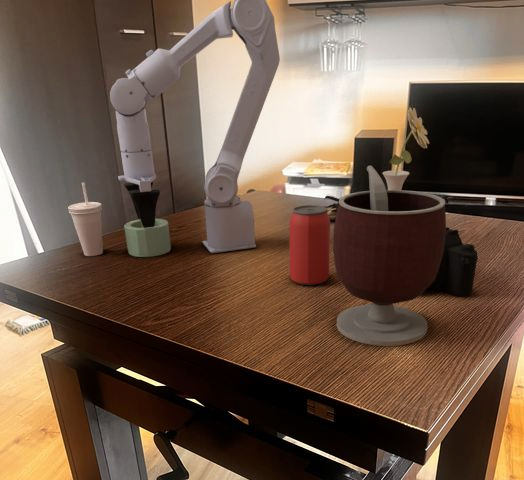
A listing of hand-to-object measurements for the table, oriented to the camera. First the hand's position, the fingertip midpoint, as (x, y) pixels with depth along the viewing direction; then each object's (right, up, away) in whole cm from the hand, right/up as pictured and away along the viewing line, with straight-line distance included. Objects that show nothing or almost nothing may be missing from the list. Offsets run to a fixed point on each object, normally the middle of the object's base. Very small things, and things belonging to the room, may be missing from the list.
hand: (146, 222), depth 106 cm
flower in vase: (+50, -4, +2) cm, 50 cm away
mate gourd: (+40, -22, -32) cm, 55 cm away
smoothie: (-11, -6, +2) cm, 13 cm away
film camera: (+50, -15, -20) cm, 55 cm away
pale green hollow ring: (0, -5, +3) cm, 6 cm away
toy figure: (+39, +5, +19) cm, 44 cm away
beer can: (+31, -14, -15) cm, 37 cm away
